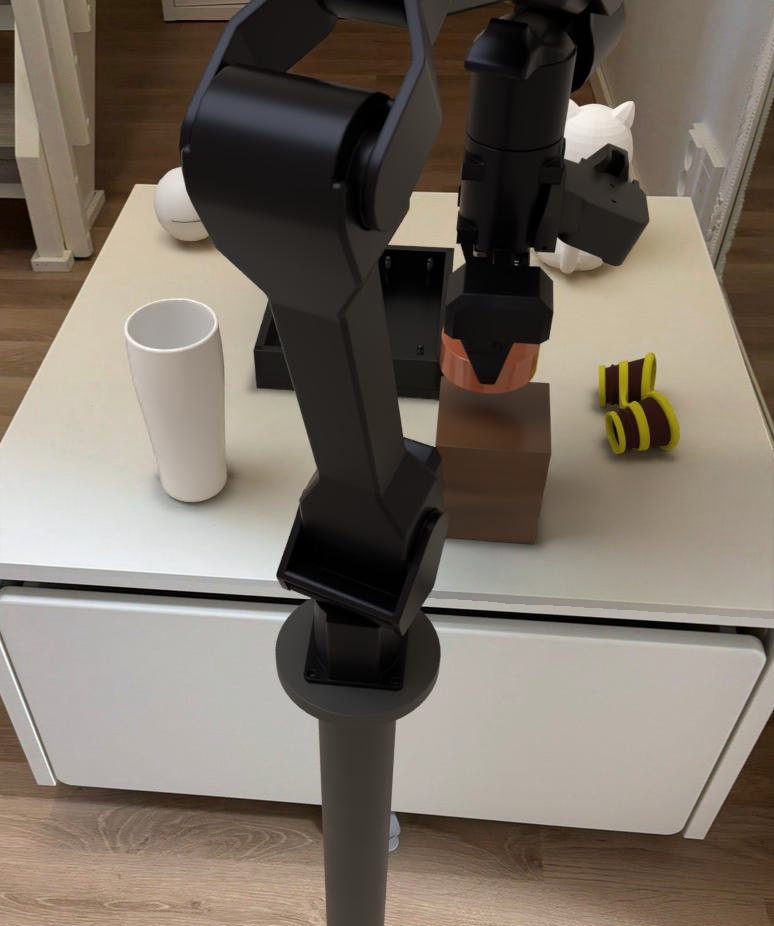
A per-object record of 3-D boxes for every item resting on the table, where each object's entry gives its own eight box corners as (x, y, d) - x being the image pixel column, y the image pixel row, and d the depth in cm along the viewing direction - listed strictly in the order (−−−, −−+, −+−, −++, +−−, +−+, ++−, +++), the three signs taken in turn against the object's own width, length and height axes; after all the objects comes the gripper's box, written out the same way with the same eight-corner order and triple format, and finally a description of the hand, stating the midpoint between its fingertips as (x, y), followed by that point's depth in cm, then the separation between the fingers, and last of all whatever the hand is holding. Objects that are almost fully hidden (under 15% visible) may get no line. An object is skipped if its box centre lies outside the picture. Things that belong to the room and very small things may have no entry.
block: (534, 544, 77) (551, 453, 70) (427, 536, 78) (435, 445, 71) (533, 473, 82) (549, 382, 76) (433, 466, 83) (441, 375, 77)
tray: (441, 399, 89) (445, 361, 86) (256, 388, 91) (253, 350, 88) (451, 284, 101) (454, 247, 98) (287, 276, 103) (285, 239, 100)
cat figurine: (616, 231, 107) (647, 83, 96) (616, 297, 99) (650, 143, 88) (529, 224, 109) (550, 78, 97) (522, 288, 100) (544, 136, 89)
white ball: (155, 256, 106) (144, 188, 101) (162, 220, 111) (152, 153, 105) (251, 254, 106) (246, 185, 100) (254, 217, 111) (249, 151, 105)
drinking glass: (157, 456, 85) (128, 297, 74) (238, 454, 85) (222, 295, 74) (148, 513, 80) (116, 353, 69) (234, 511, 80) (216, 350, 69)
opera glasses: (593, 397, 90) (591, 350, 86) (655, 387, 89) (656, 339, 86) (612, 470, 84) (611, 423, 80) (679, 460, 83) (682, 412, 79)
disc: (536, 397, 70) (541, 368, 68) (436, 390, 70) (438, 361, 69) (536, 339, 74) (541, 310, 72) (442, 333, 75) (444, 304, 73)
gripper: (669, 217, 53) (612, 448, 65) (645, 68, 65) (601, 285, 77) (453, 206, 54) (435, 435, 66) (469, 63, 66) (452, 277, 78)
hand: (488, 352), depth 72 cm, fingers closed on disc, 7 cm apart
